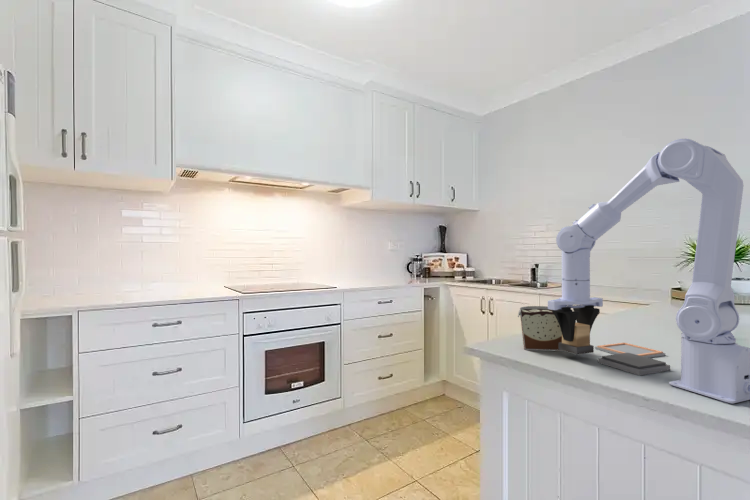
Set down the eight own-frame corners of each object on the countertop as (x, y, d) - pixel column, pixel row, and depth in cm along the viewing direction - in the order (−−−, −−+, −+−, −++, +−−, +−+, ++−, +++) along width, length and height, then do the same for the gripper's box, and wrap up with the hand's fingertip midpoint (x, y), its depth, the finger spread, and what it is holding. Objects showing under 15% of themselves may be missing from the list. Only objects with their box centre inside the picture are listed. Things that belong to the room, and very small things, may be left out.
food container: (562, 344, 98) (562, 306, 98) (571, 351, 92) (571, 309, 92) (512, 343, 100) (512, 305, 100) (518, 349, 94) (518, 309, 94)
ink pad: (670, 370, 78) (670, 362, 78) (639, 375, 75) (639, 367, 75) (627, 358, 86) (627, 351, 86) (598, 362, 83) (598, 355, 83)
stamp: (593, 352, 85) (593, 325, 85) (576, 354, 84) (576, 327, 84) (574, 347, 90) (574, 321, 90) (558, 349, 88) (558, 323, 88)
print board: (665, 355, 89) (665, 351, 89) (635, 359, 85) (635, 356, 85) (623, 345, 98) (623, 342, 98) (595, 348, 94) (595, 345, 94)
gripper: (584, 277, 93) (584, 333, 93) (537, 279, 88) (537, 338, 88) (611, 279, 86) (611, 339, 86) (562, 282, 81) (562, 345, 81)
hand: (575, 339), depth 87 cm, fingers closed on stamp, 4 cm apart
